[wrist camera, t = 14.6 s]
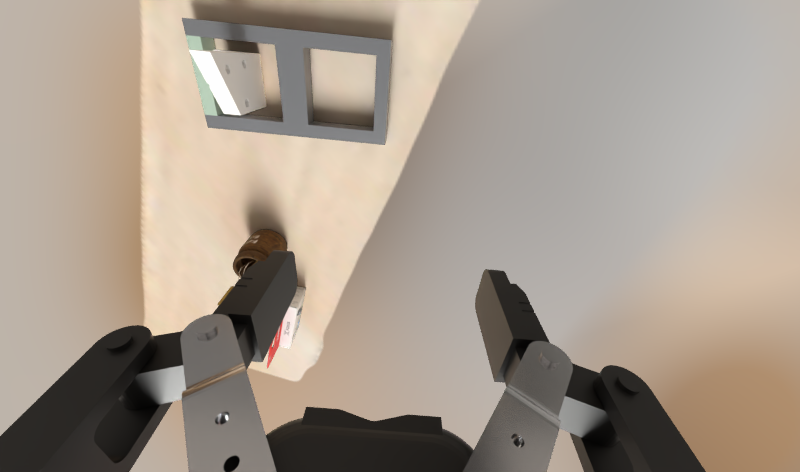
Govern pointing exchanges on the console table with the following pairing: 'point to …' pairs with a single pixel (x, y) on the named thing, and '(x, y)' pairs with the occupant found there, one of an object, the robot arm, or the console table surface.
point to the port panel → (293, 80)
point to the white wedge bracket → (233, 79)
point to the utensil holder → (256, 251)
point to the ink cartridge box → (288, 324)
